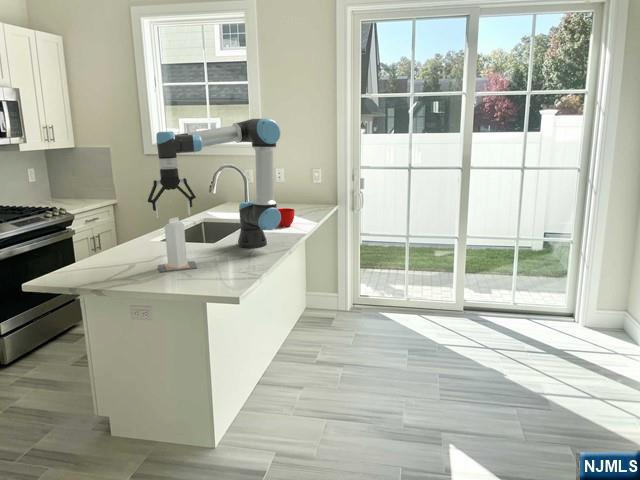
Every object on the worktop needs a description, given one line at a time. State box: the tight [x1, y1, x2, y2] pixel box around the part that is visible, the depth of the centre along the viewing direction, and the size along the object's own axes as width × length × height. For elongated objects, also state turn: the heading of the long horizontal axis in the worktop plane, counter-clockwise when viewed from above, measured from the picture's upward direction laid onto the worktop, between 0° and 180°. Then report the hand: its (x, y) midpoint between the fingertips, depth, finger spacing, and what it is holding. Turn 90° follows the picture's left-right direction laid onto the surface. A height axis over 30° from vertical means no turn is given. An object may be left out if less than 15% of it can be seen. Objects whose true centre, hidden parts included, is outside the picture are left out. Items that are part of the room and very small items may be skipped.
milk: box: [164, 216, 188, 268], centre depth 225 cm, size 6×6×22 cm
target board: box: [157, 260, 198, 274], centre depth 228 cm, size 16×11×1 cm
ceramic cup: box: [277, 207, 295, 228], centre depth 312 cm, size 13×17×10 cm
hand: (173, 216), depth 223 cm, fingers open, 13 cm apart
